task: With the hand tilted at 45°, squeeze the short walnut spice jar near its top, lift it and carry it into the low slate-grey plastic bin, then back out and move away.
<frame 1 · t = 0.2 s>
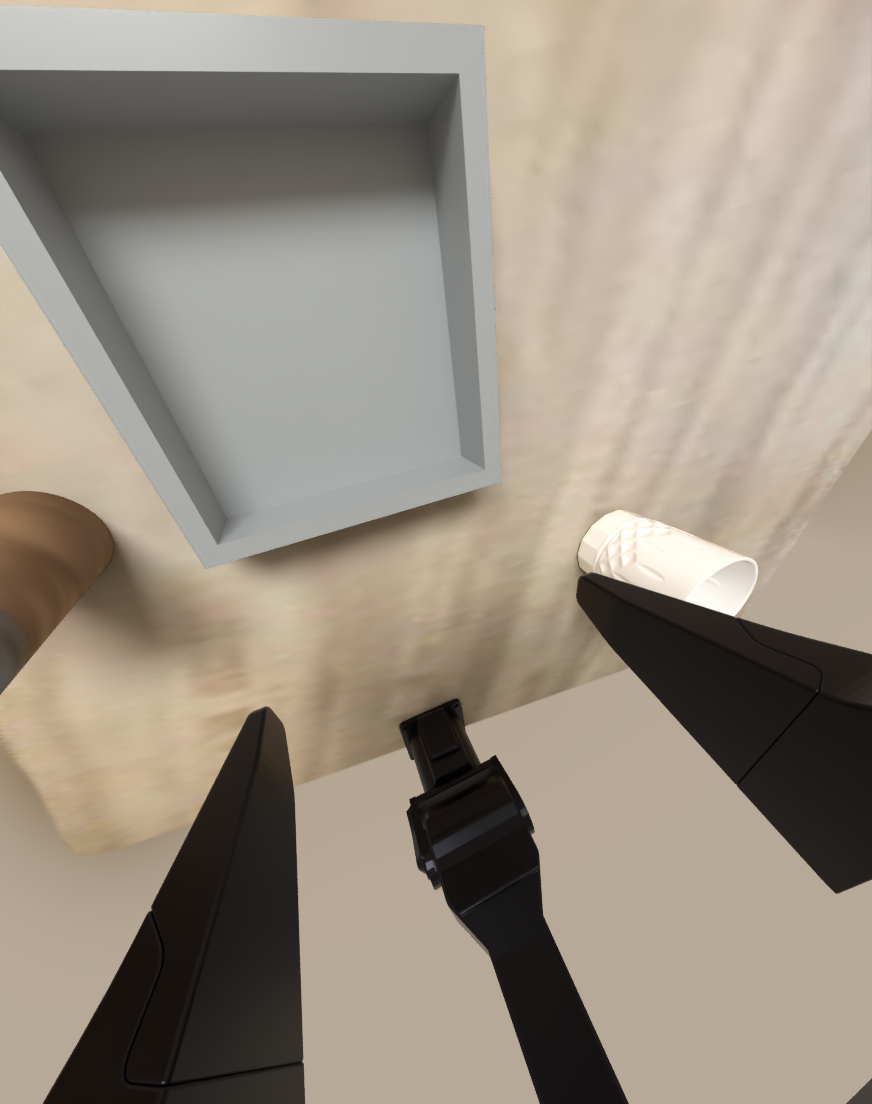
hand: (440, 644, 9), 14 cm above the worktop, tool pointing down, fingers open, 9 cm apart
spice jar: (47, 539, 17), on the worktop
white cup: (604, 541, 32), on the worktop
bin: (312, 347, 17), on the worktop
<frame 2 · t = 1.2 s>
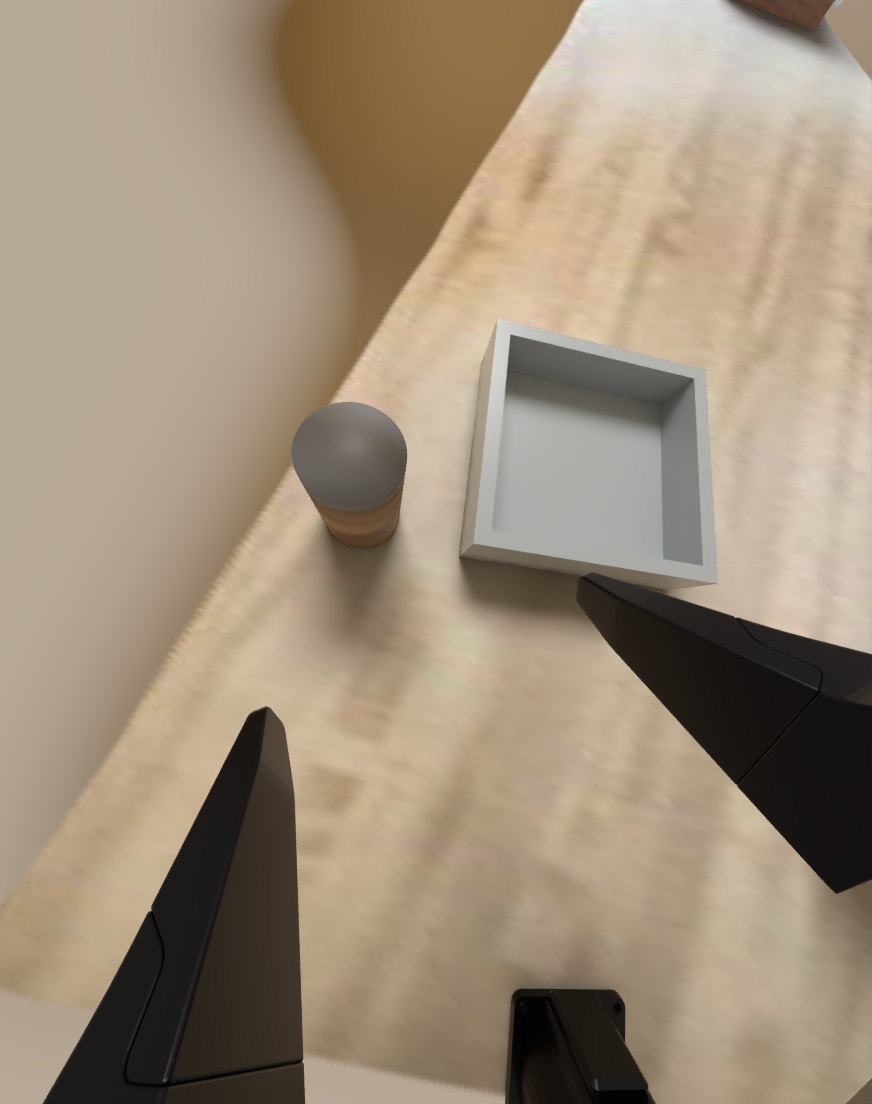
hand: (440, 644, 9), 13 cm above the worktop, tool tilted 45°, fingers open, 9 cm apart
spice jar: (362, 512, 24), on the worktop
bin: (571, 472, 27), on the worktop
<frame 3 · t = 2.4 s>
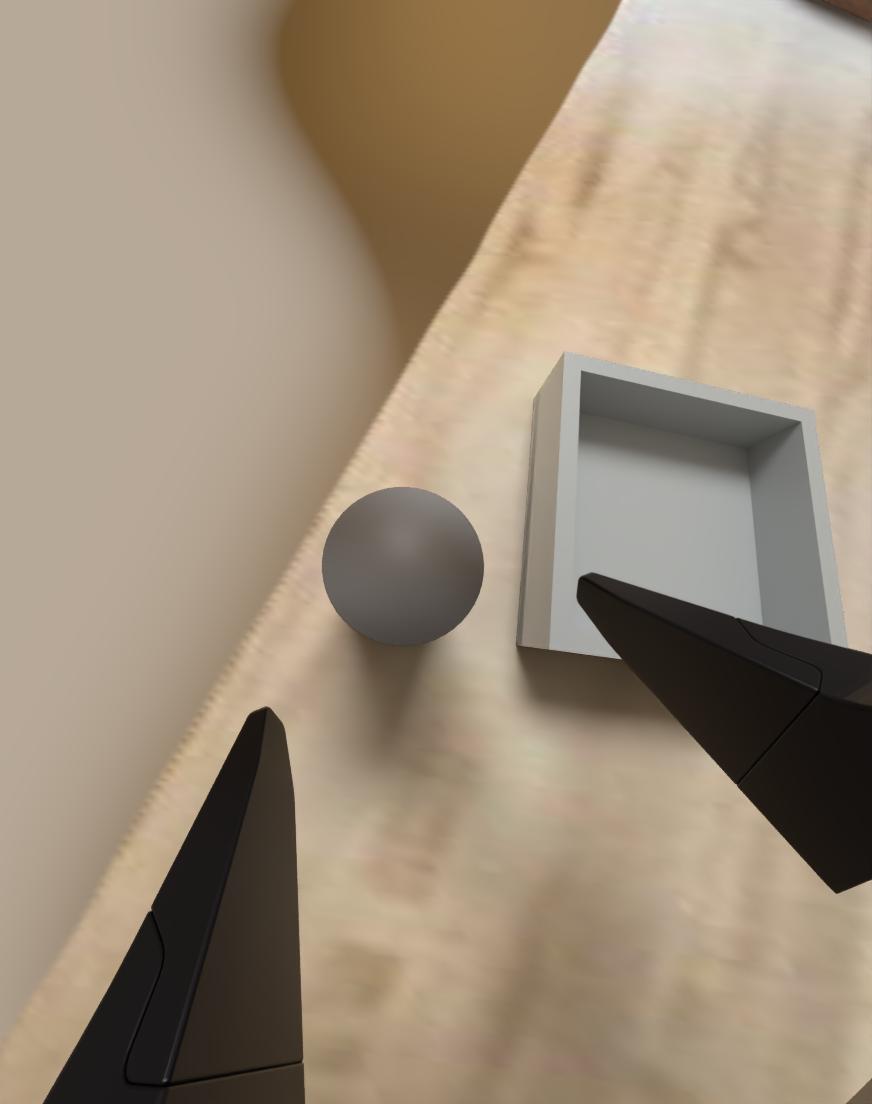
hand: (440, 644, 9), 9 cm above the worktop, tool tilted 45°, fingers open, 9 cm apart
spice jar: (396, 591, 19), on the worktop
bin: (645, 532, 22), on the worktop
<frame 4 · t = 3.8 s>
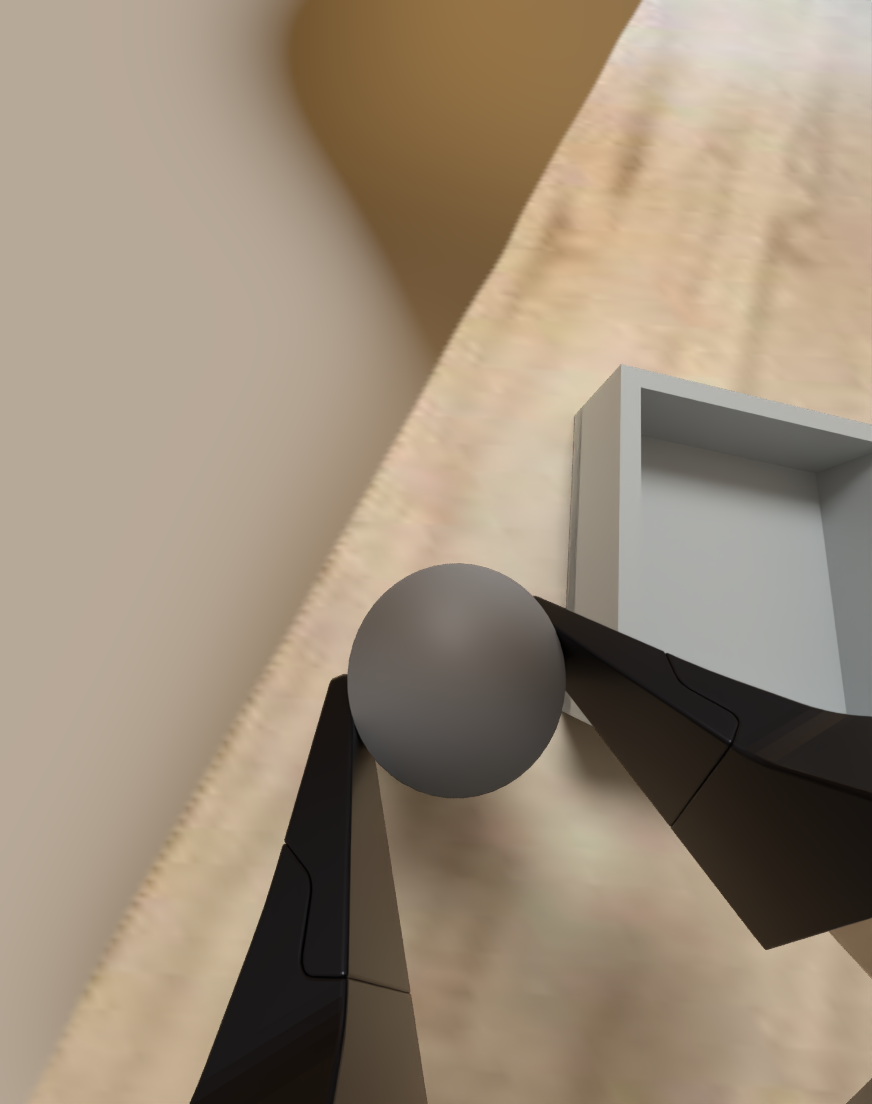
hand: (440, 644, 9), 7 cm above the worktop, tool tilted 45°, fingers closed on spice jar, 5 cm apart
spice jar: (421, 648, 16), on the worktop, touching gripper
bin: (704, 571, 19), on the worktop
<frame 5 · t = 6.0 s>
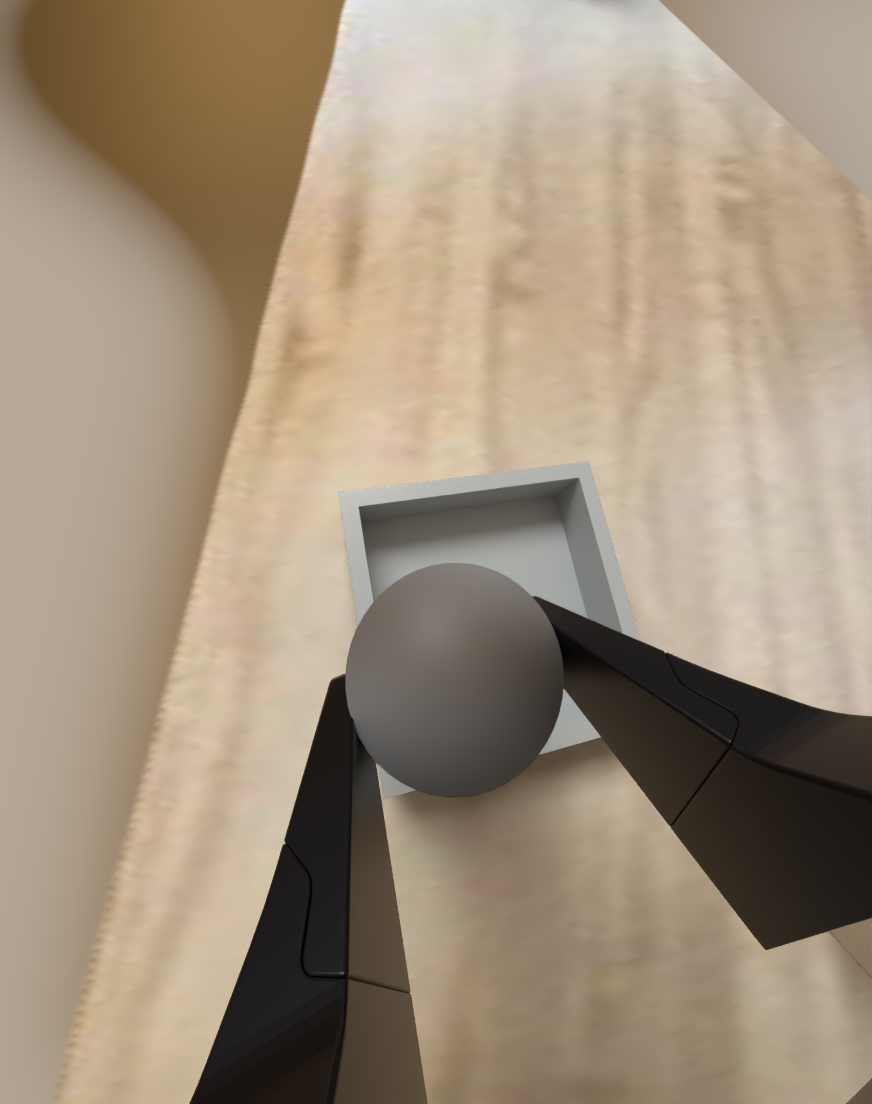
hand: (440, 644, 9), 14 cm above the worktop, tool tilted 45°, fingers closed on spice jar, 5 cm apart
spice jar: (420, 648, 16), point 7 cm above the worktop, touching gripper
bin: (481, 609, 24), on the worktop
when the fingers open (9 cm above the worktop, at t = 8.3 s): spice jar stays where it is, resting on bin.
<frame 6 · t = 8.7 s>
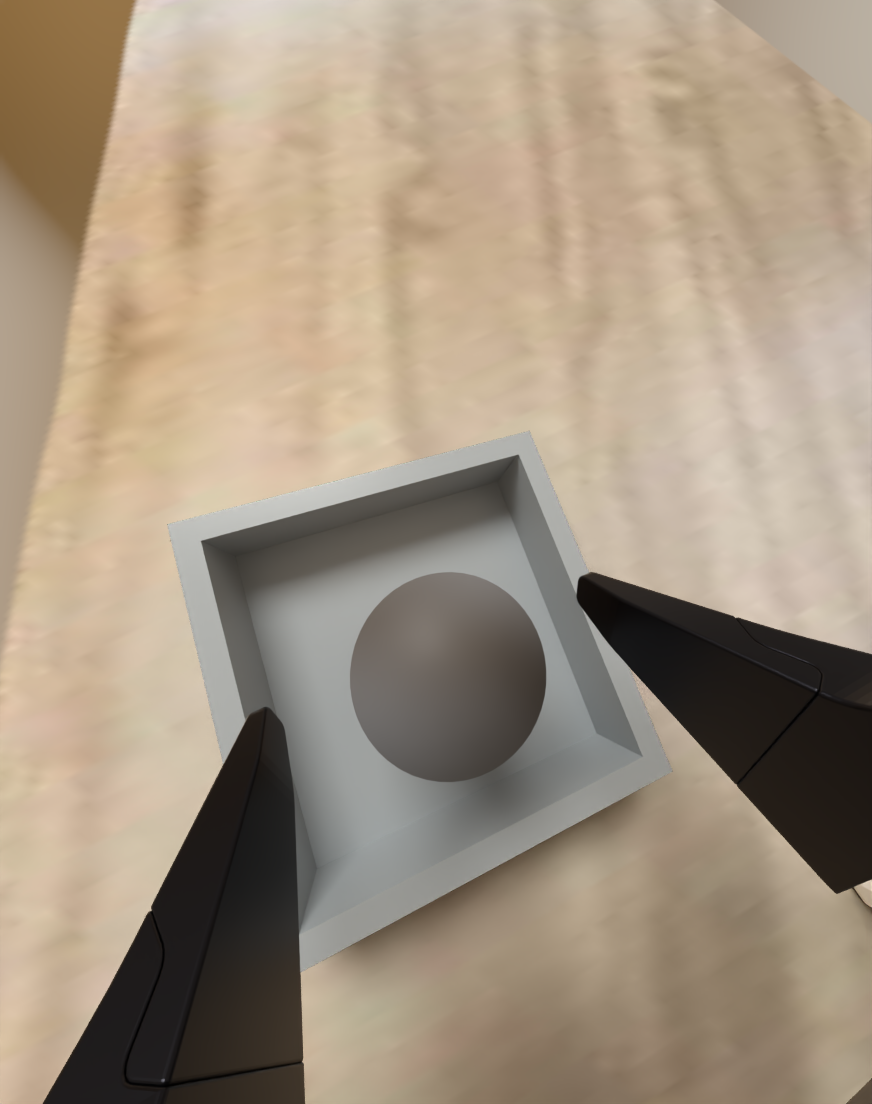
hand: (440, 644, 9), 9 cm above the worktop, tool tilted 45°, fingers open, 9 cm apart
spice jar: (419, 648, 17), point 1 cm above the worktop, touching bin
bin: (418, 646, 18), on the worktop
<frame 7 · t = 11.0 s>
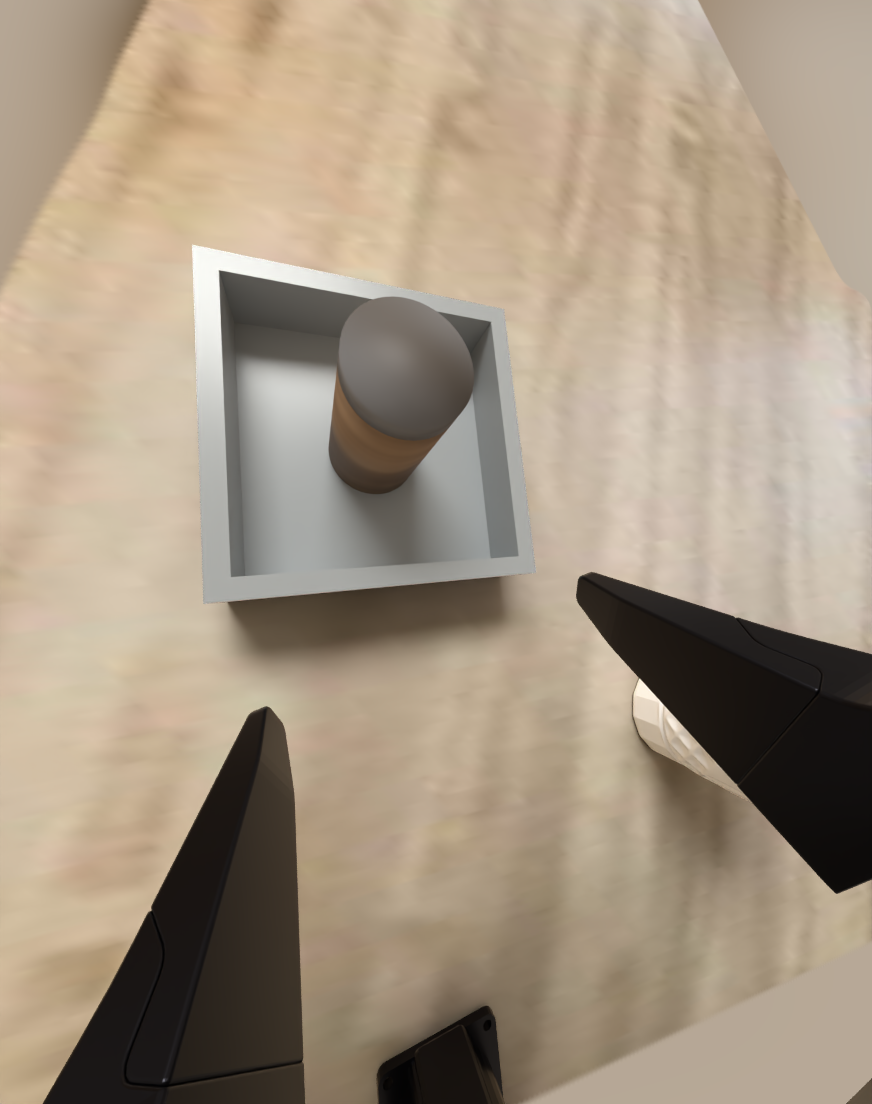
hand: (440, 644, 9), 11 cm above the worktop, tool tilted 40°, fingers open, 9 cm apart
spice jar: (372, 452, 20), point 1 cm above the worktop, touching bin
white cup: (661, 704, 27), on the worktop
bin: (371, 457, 21), on the worktop
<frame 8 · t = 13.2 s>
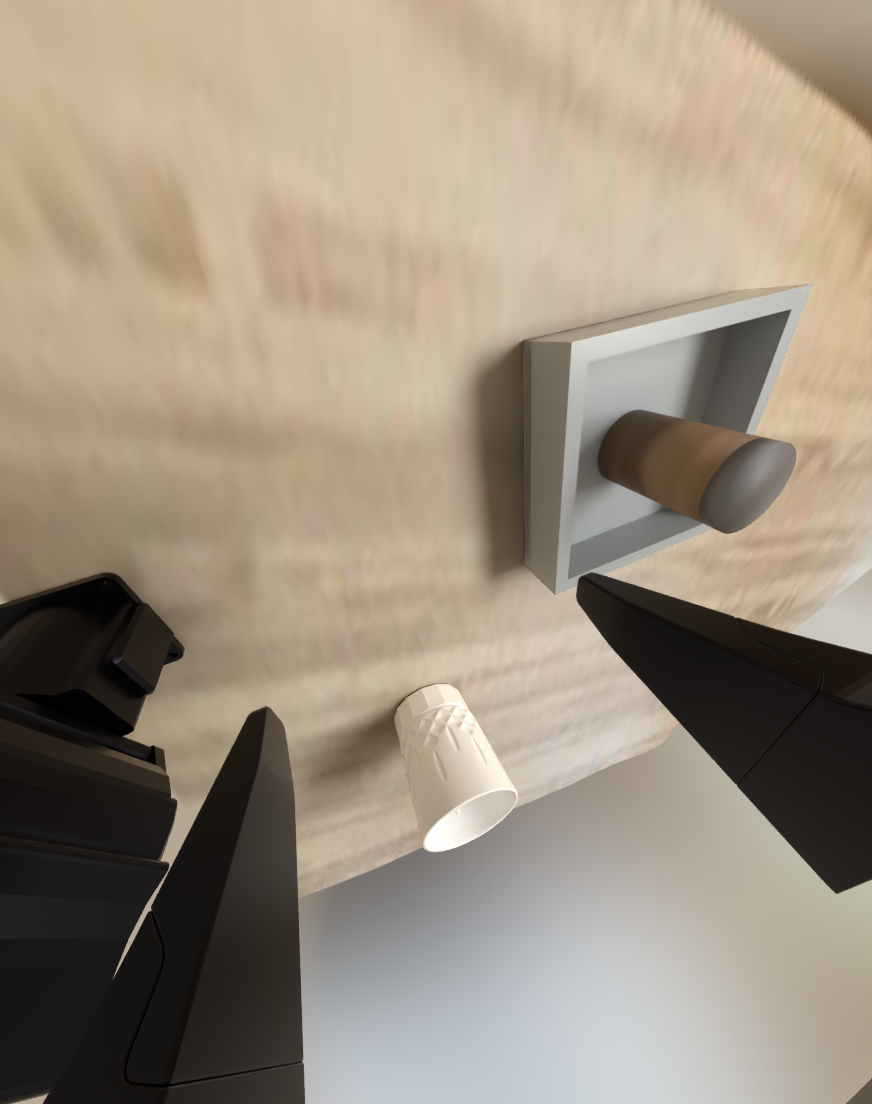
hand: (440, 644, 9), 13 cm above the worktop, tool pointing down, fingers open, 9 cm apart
spice jar: (626, 446, 25), point 1 cm above the worktop, touching bin
white cup: (426, 705, 34), on the worktop
bin: (618, 444, 25), on the worktop
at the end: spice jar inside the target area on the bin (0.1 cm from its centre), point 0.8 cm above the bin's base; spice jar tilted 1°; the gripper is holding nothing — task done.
